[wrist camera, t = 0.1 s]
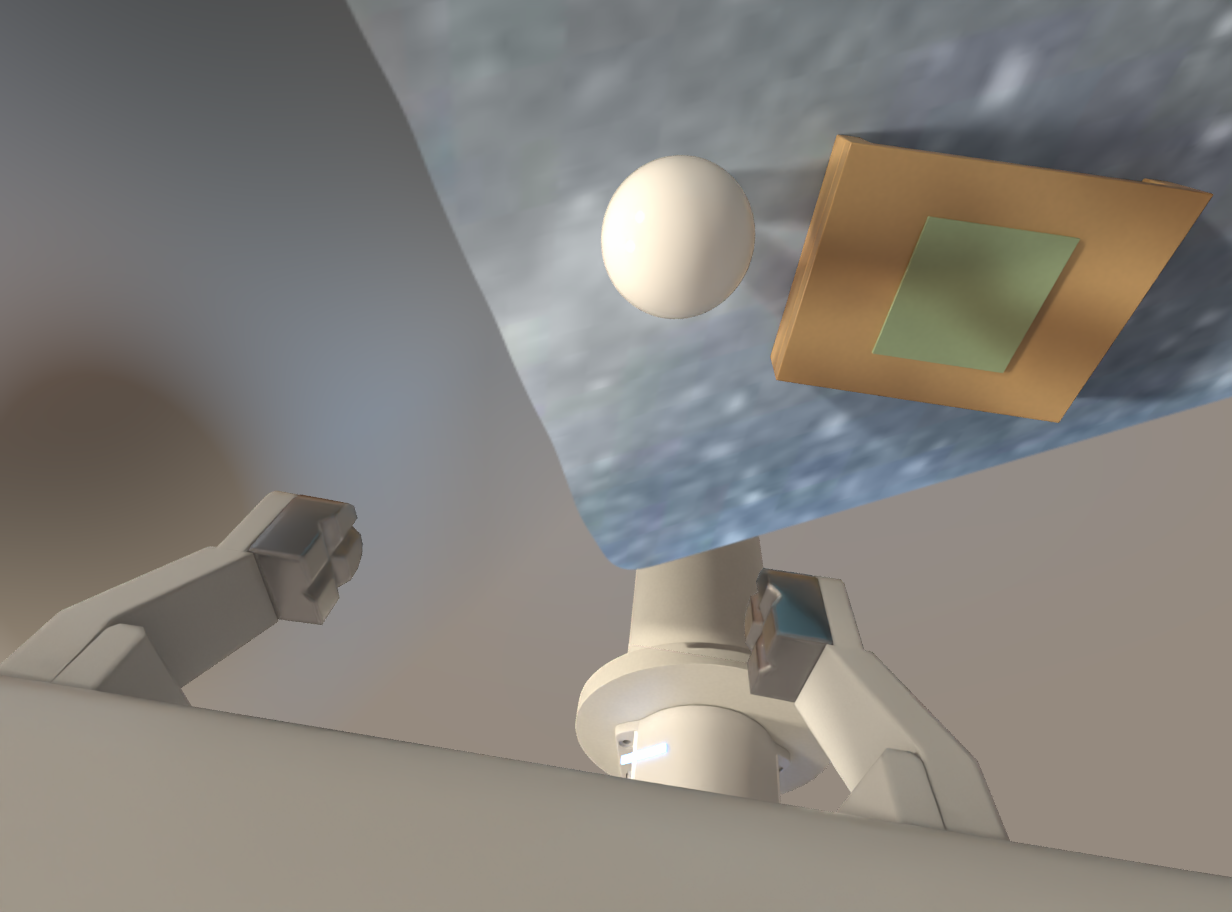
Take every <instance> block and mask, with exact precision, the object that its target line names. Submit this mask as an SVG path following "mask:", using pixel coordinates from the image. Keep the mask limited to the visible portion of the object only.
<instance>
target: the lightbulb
mask: <svg viewBox="0 0 1232 912" xmlns="http://www.w3.org/2000/svg"><path fill="white" fill-rule="evenodd" d="M754 244H755V223H754V217H753V212H752V209H751V206H750V203H749V201H748V198H747V196H746V194H745V193H744V191H743V189H742V188H741V186H740V185H739V184H738V182H737V181H736V180H735V179H734V178H733V177H732V176H731V175H730V174H729V173H728V172H727V171H726V170H724V169H723V168H721V167H720V166H718V165H717V164H715V163H713V162H711V161H708V160H706V159H703V158H700V157H696V156H689V155H673V156H667V157H662V158H659V159H656V160H653V161H651V162H649V163H647V164H645V165H643V166H641V167H640V168H638V169H637V170H635V171H634V172H633V173H632V174H631V175H629V176H628V177H627V178H626V179H625V180H624V181H623V182H622V184H621V185H620V186H619V187H618V189H617V190H616V192H615V193H614V195H613V197H612V199H611V200H610V202H609V205H608V207H607V210H606V212H605V216H604V219H603V224H602V231H601V249H602V256H603V261H604V265H605V268H606V271H607V273H608V275H609V277H610V279H611V281H612V283H613V285H614V286H615V288H616V289H617V290H618V292H619V293H620V294H621V295H622V296H623V297H624V298H625V299H626V300H627V301H628V302H629V303H631V304H632V305H633V306H635V307H636V308H638V309H639V310H641V311H643V312H645V313H647V314H650V315H653V316H656V317H660V318H666V319H685V318H690V317H695V316H698V315H701V314H703V313H706V312H708V311H710V310H712V309H714V308H715V307H717V306H718V305H720V304H721V303H722V302H723V301H725V300H726V299H727V298H728V297H729V296H730V295H731V294H732V293H733V292H734V291H735V289H736V288H737V287H738V285H739V284H740V283H741V281H742V279H743V278H744V276H745V274H746V272H747V270H748V267H749V265H750V262H751V259H752V255H753V251H754Z"/></svg>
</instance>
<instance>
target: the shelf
mask: <svg viewBox="0 0 1232 912" xmlns="http://www.w3.org/2000/svg"><path fill="white" fill-rule="evenodd" d="M1212 196H1213V194H1212V193H1208V192H1205V191H1201V190H1197V189H1193V188H1190V187H1186V186H1182V185H1179V184H1175V183H1171V182H1168V181H1161V180H1154V179H1147V178H1145V179H1143V180H1142V182H1141V181H1134V180H1127V179H1120V178H1113V177H1106V176H1099V175H1092V174H1085V173H1078V172H1071V171H1064V170H1057V169H1050V168H1043V167H1036V166H1029V165H1022V164H1015V163H1008V162H1001V161H994V160H987V159H980V158H973V157H966V156H959V155H952V154H945V153H938V152H931V151H924V150H917V149H910V148H903V147H896V146H889V145H882V144H875V143H870V142H868V141H866V140H864V139H862V138H860V137H853V136H846V135H837V137H836V140H835V143H834V147H833V150H832V153H831V157H830V160H829V163H828V167H827V170H826V173H825V177H824V180H823V183H822V187H821V190H820V193H819V197H818V200H817V203H816V207H815V210H814V213H813V217H812V220H811V223H810V227H809V230H808V233H807V237H806V240H805V243H804V247H803V250H802V253H801V257H800V260H799V263H798V267H797V270H796V273H795V277H794V280H793V283H792V287H791V290H790V293H789V297H788V300H787V303H786V307H785V310H784V313H783V317H782V320H781V323H780V327H779V330H778V333H777V337H776V340H775V343H774V347H773V350H772V353H771V361H772V365H773V369H774V373H775V377H776V380H779V381H786V382H793V383H799V384H806V385H812V386H819V387H826V388H832V389H839V390H845V391H852V392H859V393H865V394H872V395H878V396H885V397H892V398H898V399H905V400H911V401H918V402H925V403H931V404H938V405H945V406H951V407H958V408H964V409H971V410H978V411H984V412H991V413H997V414H1004V415H1011V416H1017V417H1024V418H1030V419H1037V420H1044V421H1050V422H1057V423H1059V422H1060V420H1061V419H1062V417H1063V416H1064V414H1065V413H1066V412H1067V410H1068V409H1069V407H1070V406H1071V404H1072V403H1073V401H1074V400H1075V398H1076V397H1077V395H1078V394H1079V392H1080V391H1081V389H1082V388H1083V386H1084V385H1085V383H1086V382H1087V381H1088V379H1089V378H1090V376H1091V375H1092V373H1093V372H1094V370H1095V369H1096V367H1097V366H1098V364H1099V363H1100V361H1101V360H1102V358H1103V357H1104V355H1105V354H1106V353H1107V351H1108V350H1109V348H1110V347H1111V345H1112V344H1113V342H1114V341H1115V339H1116V338H1117V336H1118V335H1119V333H1120V332H1121V330H1122V329H1123V327H1124V326H1125V325H1126V323H1127V322H1128V320H1129V319H1130V317H1131V316H1132V314H1133V313H1134V311H1135V310H1136V308H1137V307H1138V305H1139V304H1140V302H1141V301H1142V299H1143V298H1144V297H1145V295H1146V294H1147V292H1148V291H1149V289H1150V288H1151V286H1152V285H1153V283H1154V282H1155V280H1156V279H1157V277H1158V276H1159V274H1160V273H1161V271H1162V270H1163V268H1164V267H1165V266H1166V264H1167V263H1168V261H1169V260H1170V258H1171V257H1172V255H1173V254H1174V252H1175V251H1176V249H1177V248H1178V246H1179V245H1180V243H1181V242H1182V240H1183V239H1184V238H1185V236H1186V235H1187V233H1188V232H1189V230H1190V229H1191V227H1192V226H1193V224H1194V223H1195V221H1196V220H1197V218H1198V217H1199V215H1200V214H1201V212H1202V211H1203V210H1204V208H1205V207H1206V205H1207V204H1208V202H1209V201H1210V199H1211V198H1212Z"/></svg>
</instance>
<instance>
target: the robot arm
mask: <svg viewBox="0 0 1232 912" xmlns="http://www.w3.org/2000/svg"><path fill="white" fill-rule="evenodd" d="M356 519H357V515H356V511H355V507H354V506H353V505H351V504H349V503H344V502H338V501H333V500H328V499H322V498H317V497H311V496H306V495H297V494H292V493H286V492H281V491H274V492H272V493H269V494H268V495H266V496H265V498H263V500H262V501H261V502H260V503H259V504H258V505H257V506H256V507H255V508H254V509H253V510H252V511H251V512H250V513H249V514H248V515H247V516H246V517H245V519H243V520H242V522H241V523H240V524H239V525H238V526H237V527H236V528H235V529H234V530H233V531H232V532H231V533H230V534H229V535H228V536H227V537H226V538H225V539H224V540H223V542H221V544H220V545H219V546H218V547H212V546H208V547H206V548H204V549H201V550H199V551H197V552H195V553H192V554H190V555H188V556H185V557H183V558H181V559H178V560H176V561H174V562H172V563H169V564H167V565H165V566H162V567H160V568H158V569H156V570H153V571H151V572H149V573H146V574H144V575H142V576H139V577H137V578H135V579H133V580H130V581H128V582H126V583H123V584H121V585H119V586H116V587H114V588H112V589H109V590H107V591H105V592H103V593H100V594H98V595H96V596H93V597H91V598H89V599H86V600H84V601H82V602H80V603H77V604H75V605H73V606H70V607H68V608H66V609H64V610H61V611H60V612H59V613H58V614H56V615H55V616H54V617H53V618H52V619H51V620H50V621H48V622H47V623H46V624H45V625H44V626H43V627H42V628H41V629H39V630H38V631H37V632H36V633H35V634H34V635H33V636H32V637H30V638H29V639H28V640H27V641H26V642H25V643H24V644H22V645H21V646H20V647H19V648H18V649H17V650H16V651H15V652H13V654H11V655H10V656H9V657H8V658H7V659H6V660H4V661H3V662H2V663H1V664H0V912H1232V877H1227V876H1221V875H1214V874H1208V873H1201V872H1194V871H1188V870H1182V869H1176V868H1170V867H1164V866H1158V865H1152V864H1146V863H1140V862H1134V861H1127V860H1121V859H1115V858H1109V857H1103V856H1097V855H1091V854H1085V853H1079V852H1073V851H1067V850H1061V849H1055V848H1048V847H1042V846H1036V845H1030V844H1024V843H1018V842H1012V841H1010V840H1009V837H1008V835H1007V832H1006V830H1005V828H1004V825H1003V823H1002V820H1001V818H1000V815H999V813H998V810H997V808H996V805H995V803H994V800H993V798H992V795H991V793H990V790H989V788H988V786H987V783H986V781H985V778H984V776H983V773H982V771H981V768H980V766H979V763H978V761H977V760H976V759H975V758H974V757H973V756H972V755H971V754H970V752H969V751H968V750H967V749H966V748H965V747H964V746H963V745H962V744H961V743H960V742H959V741H958V740H957V739H956V738H955V737H954V736H953V735H952V734H951V733H950V732H949V731H948V730H947V729H946V728H945V727H944V726H943V725H942V724H941V722H940V721H939V720H938V719H936V717H935V716H934V715H933V714H932V713H931V712H930V711H929V710H928V709H927V708H926V707H925V706H924V705H923V704H922V703H921V702H920V701H919V700H918V699H917V698H916V697H915V696H914V695H913V694H912V693H911V691H910V690H909V689H908V688H907V687H906V686H905V685H904V684H903V683H902V682H901V681H900V680H899V679H898V678H897V677H896V676H895V675H894V674H893V673H892V672H891V671H890V670H889V669H888V668H887V667H886V666H885V665H884V664H883V662H882V661H881V660H880V659H879V658H878V657H877V656H876V655H875V654H874V653H873V652H870V651H865V650H864V648H863V644H862V641H861V638H860V634H859V631H858V628H857V624H856V621H855V618H854V614H853V611H852V608H851V605H850V601H849V598H848V594H847V591H846V588H845V584H844V583H843V582H842V580H841V579H835V578H827V577H821V576H812V575H807V574H800V573H794V572H786V571H780V570H773V569H766V568H763V569H762V570H761V572H760V573H759V576H758V578H757V581H756V582H757V591H758V592H757V593H755V594H754V595H752V596H750V599H749V602H748V605H747V609H746V615H745V621H744V634H745V644H746V645H747V646H748V647H749V649H750V650H751V651H752V652H751V655H750V657H749V660H748V662H747V668H748V677H749V687H750V694H752V695H758V696H763V697H768V698H773V699H779V700H784V701H789V702H795V703H794V706H795V707H796V709H797V710H798V712H799V713H800V715H801V716H802V718H803V719H804V721H805V722H806V724H807V726H808V727H809V729H810V730H811V732H812V733H813V735H814V736H815V738H816V739H817V741H818V742H819V744H820V746H821V747H822V749H823V750H824V752H825V753H826V755H827V756H828V758H829V759H830V761H831V762H832V764H833V766H834V767H835V768H836V770H837V772H838V773H839V775H840V776H841V778H842V779H843V781H844V782H845V784H846V786H847V787H848V789H849V790H850V792H851V794H850V795H849V796H848V797H847V799H846V800H845V801H844V803H843V804H842V805H841V806H840V807H839V809H838V810H837V811H836V812H829V811H823V810H817V809H810V808H805V807H799V806H792V805H786V804H781V798H780V797H781V796H780V782H779V775H780V774H781V773H782V772H783V771H784V770H785V769H786V768H787V767H789V765H790V763H791V760H790V753H789V751H788V750H786V749H785V748H783V747H782V746H780V745H778V744H777V743H775V742H774V741H773V740H772V739H771V737H770V736H769V734H768V733H767V731H766V730H765V729H764V728H763V727H762V726H761V725H760V724H759V723H758V722H756V721H755V720H753V719H751V718H750V717H748V716H746V715H743V714H741V713H738V712H735V711H732V710H729V709H725V708H720V707H714V706H704V705H687V706H677V707H672V708H667V709H664V710H661V711H658V712H656V713H653V714H651V715H650V716H648V717H646V718H644V719H641V720H637V721H631V722H625V723H621V724H619V725H617V726H616V727H615V739H616V746H617V753H618V759H619V766H620V772H621V777H616V776H610V775H604V774H598V773H592V772H586V771H580V770H574V769H568V768H562V767H556V766H550V765H543V764H538V763H532V762H525V761H520V760H513V759H508V758H502V757H496V756H489V755H484V754H477V753H472V752H465V751H460V750H453V749H447V748H441V747H435V746H429V745H423V744H417V743H411V742H405V741H399V740H393V739H387V738H380V737H375V736H369V735H363V734H356V733H350V732H344V731H338V730H332V729H326V728H320V727H314V726H308V725H302V724H296V723H289V722H284V721H277V720H271V719H266V718H259V717H253V716H247V715H241V714H235V713H229V712H223V711H217V710H210V709H205V708H199V707H193V706H191V704H190V703H189V701H188V700H187V698H186V696H185V695H184V693H183V691H182V690H181V688H182V687H183V686H185V685H186V684H187V683H189V682H191V681H192V680H193V679H195V678H196V677H198V676H199V675H201V674H202V673H204V672H205V671H207V670H208V669H210V668H211V667H213V666H214V665H215V664H217V663H218V662H220V661H221V660H223V659H224V658H226V657H227V656H229V655H230V654H231V653H233V652H234V651H236V650H237V649H239V648H240V647H242V646H243V645H245V644H246V643H248V642H249V641H251V640H252V639H253V638H255V637H256V636H258V635H259V634H261V633H262V632H264V631H265V630H266V629H268V628H269V627H271V626H272V625H274V624H275V623H277V622H278V619H281V620H288V621H296V622H303V623H311V624H318V625H322V624H323V622H324V621H325V619H326V618H327V616H328V615H329V613H330V612H331V610H332V609H333V607H334V605H335V604H336V602H337V601H338V599H339V594H338V589H337V588H338V587H340V586H341V585H343V584H345V583H347V582H348V581H350V580H351V579H352V577H353V575H354V574H355V572H356V570H357V569H358V566H359V563H360V560H361V556H362V545H363V543H362V539H361V534H359V532H358V531H357V530H356V529H355V528H354V527H353V526H352V525H353V524H354V522H355V521H356Z"/></svg>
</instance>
